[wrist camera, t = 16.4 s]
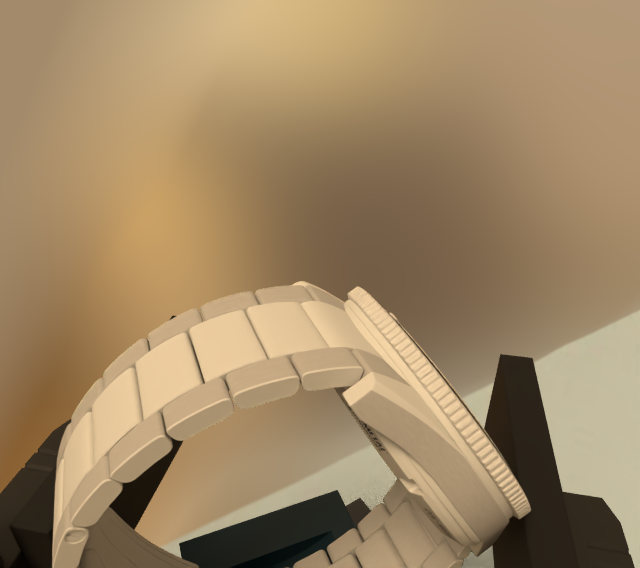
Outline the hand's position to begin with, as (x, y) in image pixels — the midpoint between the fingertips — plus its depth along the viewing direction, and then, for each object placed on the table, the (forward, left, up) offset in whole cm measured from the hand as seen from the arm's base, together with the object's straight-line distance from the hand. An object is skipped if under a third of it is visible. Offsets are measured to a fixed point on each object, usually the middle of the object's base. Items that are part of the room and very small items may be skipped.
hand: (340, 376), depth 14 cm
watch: (+1, -5, -6) cm, 8 cm away
